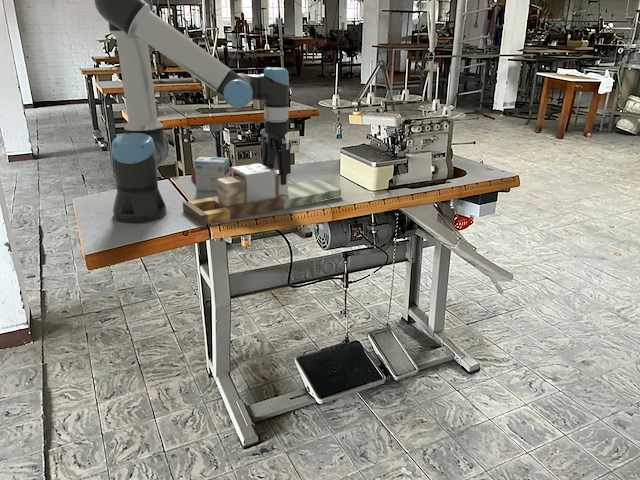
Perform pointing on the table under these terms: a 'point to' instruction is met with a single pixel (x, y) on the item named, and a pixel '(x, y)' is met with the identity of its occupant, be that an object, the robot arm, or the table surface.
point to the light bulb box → (210, 172)
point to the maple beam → (239, 189)
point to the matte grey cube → (257, 182)
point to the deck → (297, 195)
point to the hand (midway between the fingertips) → (276, 190)
